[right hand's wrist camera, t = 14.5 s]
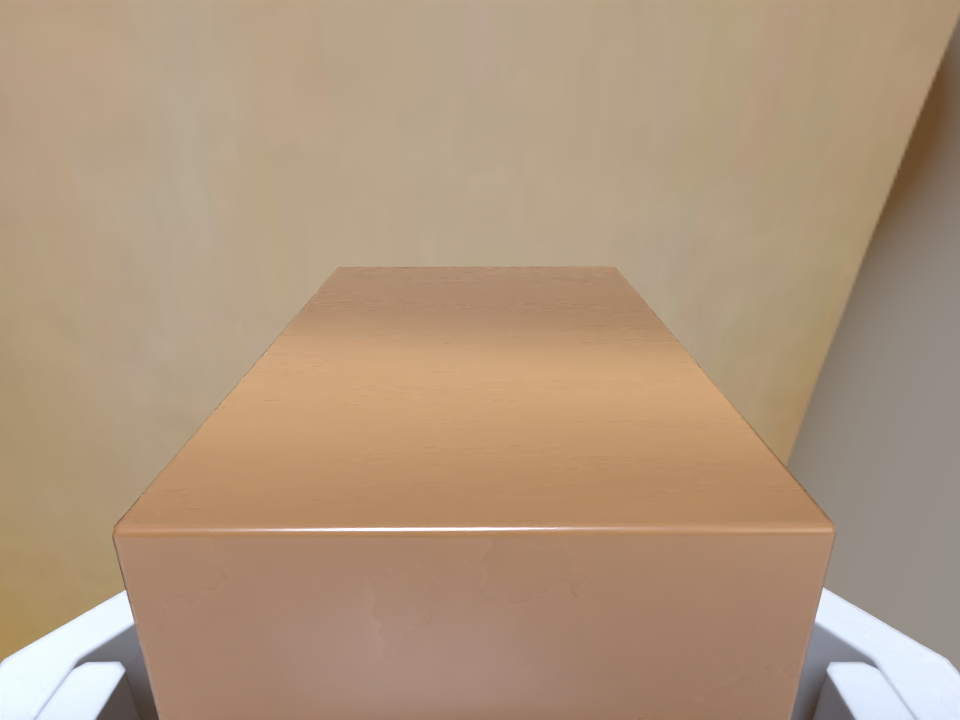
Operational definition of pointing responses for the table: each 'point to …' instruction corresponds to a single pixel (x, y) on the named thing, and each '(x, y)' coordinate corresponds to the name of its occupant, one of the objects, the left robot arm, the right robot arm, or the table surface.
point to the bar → (475, 519)
